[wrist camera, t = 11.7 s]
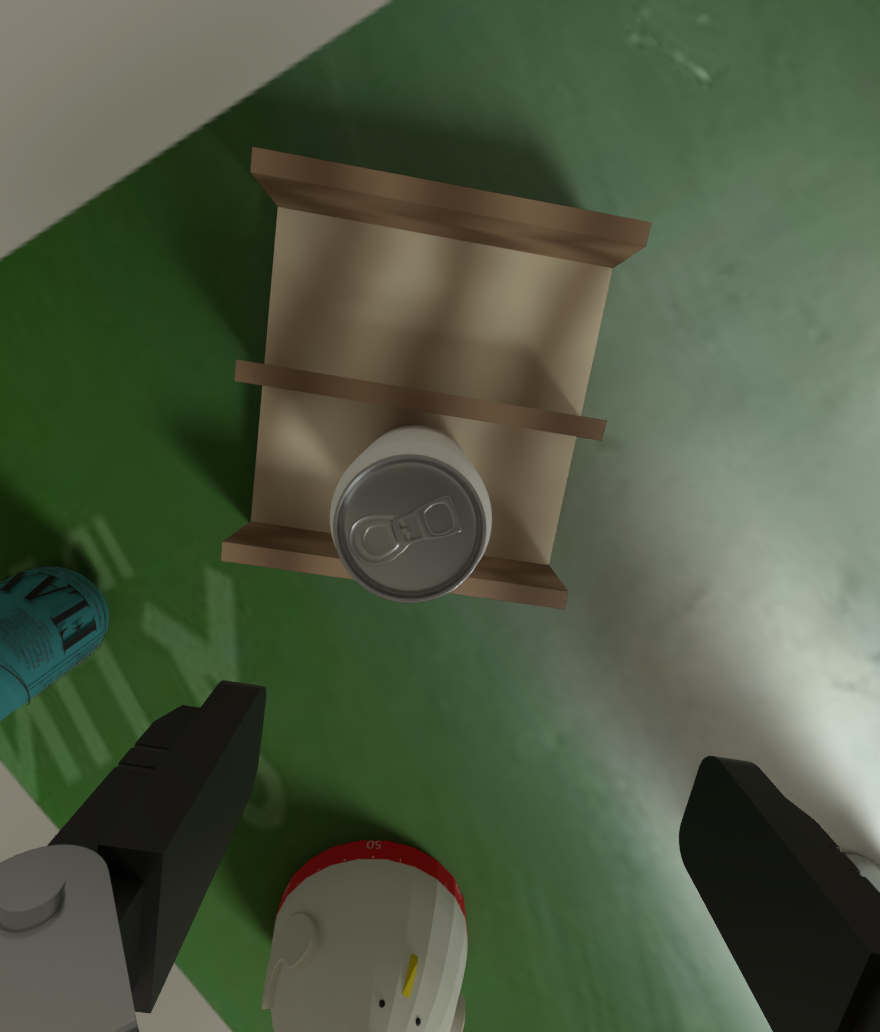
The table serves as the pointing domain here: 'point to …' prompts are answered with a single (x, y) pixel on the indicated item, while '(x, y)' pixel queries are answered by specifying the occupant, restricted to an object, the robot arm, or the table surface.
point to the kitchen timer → (368, 944)
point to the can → (411, 516)
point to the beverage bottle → (45, 630)
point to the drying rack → (424, 354)
